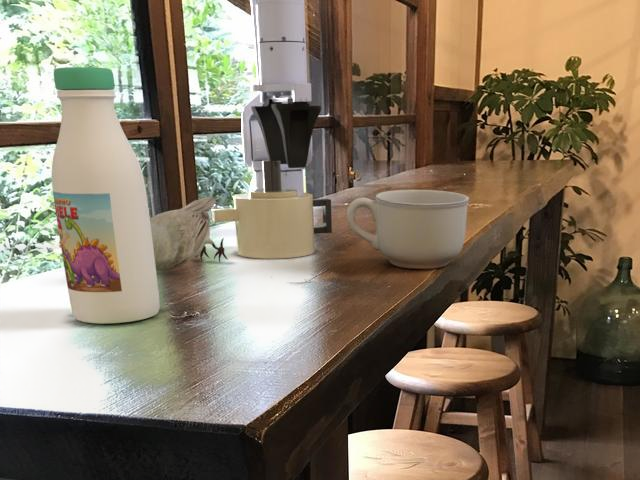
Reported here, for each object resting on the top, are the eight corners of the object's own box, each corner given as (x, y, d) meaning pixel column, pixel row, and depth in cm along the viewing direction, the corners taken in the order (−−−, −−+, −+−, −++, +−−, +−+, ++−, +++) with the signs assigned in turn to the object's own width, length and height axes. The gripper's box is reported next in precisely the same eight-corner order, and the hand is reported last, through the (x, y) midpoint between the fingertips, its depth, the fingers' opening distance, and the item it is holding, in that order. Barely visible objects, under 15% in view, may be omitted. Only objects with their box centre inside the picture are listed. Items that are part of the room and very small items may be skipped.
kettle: (316, 242, 112) (313, 156, 107) (345, 253, 104) (344, 160, 99) (205, 251, 106) (197, 160, 101) (227, 263, 98) (220, 164, 93)
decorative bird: (106, 281, 88) (95, 209, 85) (199, 259, 101) (193, 195, 97) (144, 285, 85) (134, 211, 82) (234, 262, 98) (229, 197, 95)
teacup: (465, 257, 100) (468, 189, 96) (466, 274, 90) (470, 198, 87) (353, 256, 101) (352, 189, 98) (343, 272, 91) (341, 198, 88)
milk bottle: (133, 302, 78) (103, 70, 70) (177, 315, 73) (150, 67, 65) (57, 316, 73) (15, 68, 65) (99, 330, 68) (58, 64, 60)
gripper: (234, 46, 101) (242, 163, 107) (266, 38, 89) (273, 170, 94) (287, 47, 103) (292, 161, 109) (326, 39, 91) (330, 168, 97)
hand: (287, 166), depth 102 cm, fingers open, 7 cm apart
